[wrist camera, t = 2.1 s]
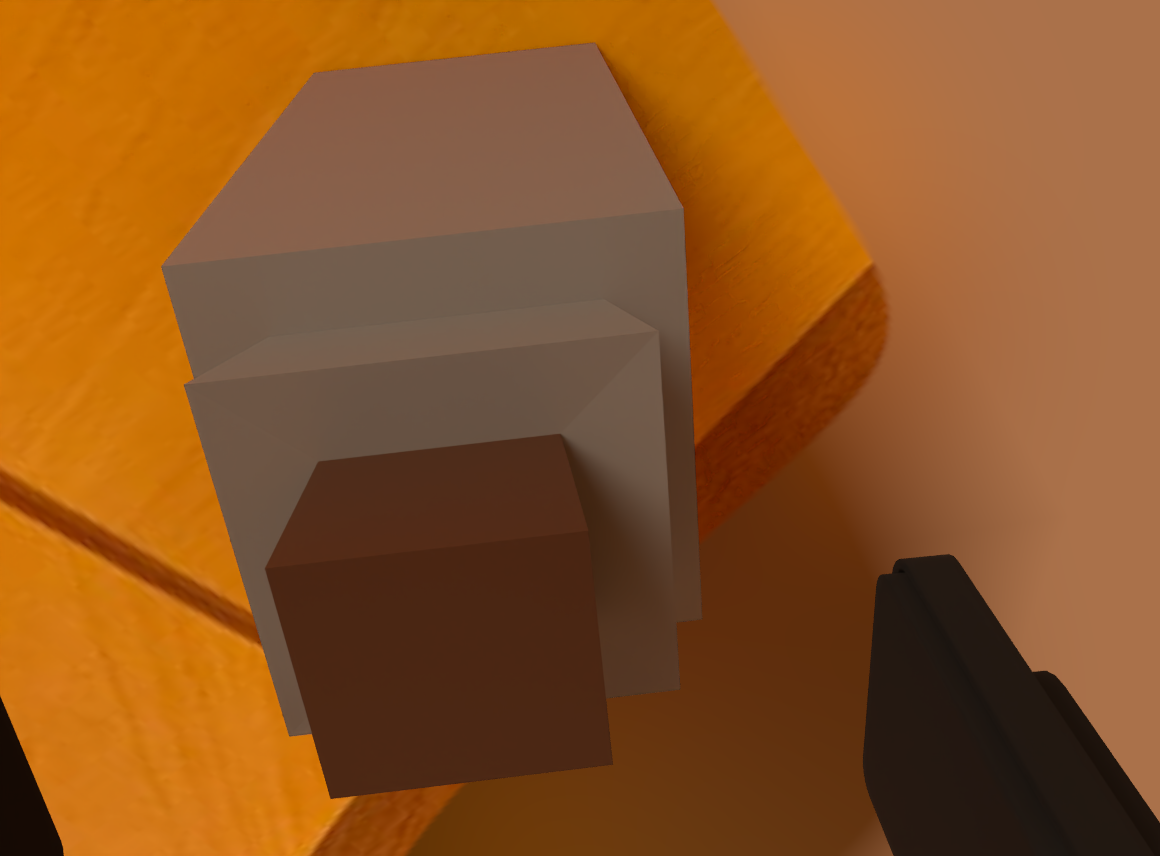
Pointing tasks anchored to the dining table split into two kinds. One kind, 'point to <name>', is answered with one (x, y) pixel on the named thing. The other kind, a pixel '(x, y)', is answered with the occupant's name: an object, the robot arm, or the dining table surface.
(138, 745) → the dining table surface
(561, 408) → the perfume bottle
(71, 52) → the dining table surface
